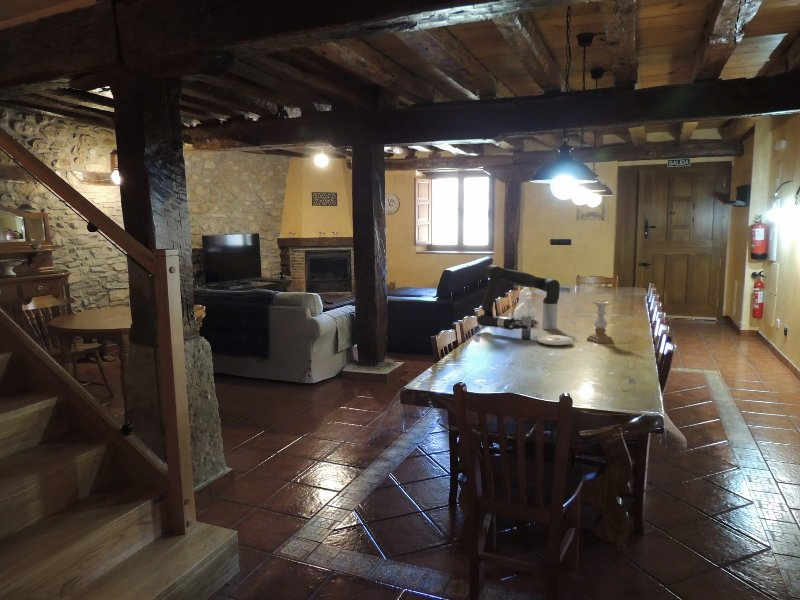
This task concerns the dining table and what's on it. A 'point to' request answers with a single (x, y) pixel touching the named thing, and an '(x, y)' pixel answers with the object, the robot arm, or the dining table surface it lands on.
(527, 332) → the cup
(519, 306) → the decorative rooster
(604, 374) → the dining table surface
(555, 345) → the turntable base
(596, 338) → the candle holder
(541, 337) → the disc
